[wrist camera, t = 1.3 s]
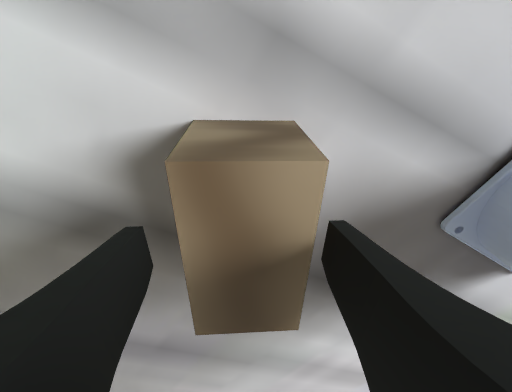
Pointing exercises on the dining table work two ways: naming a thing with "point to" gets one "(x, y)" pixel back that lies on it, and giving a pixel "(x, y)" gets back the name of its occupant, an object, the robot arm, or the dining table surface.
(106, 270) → the robot arm
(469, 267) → the dining table surface
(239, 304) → the frame block
